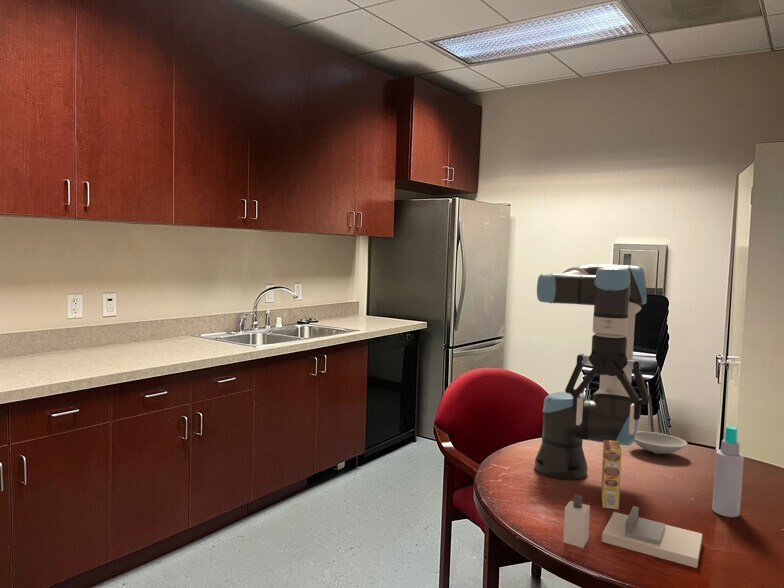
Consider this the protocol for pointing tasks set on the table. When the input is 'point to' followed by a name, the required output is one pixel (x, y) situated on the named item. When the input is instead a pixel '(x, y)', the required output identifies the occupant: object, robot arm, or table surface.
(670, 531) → the socket plate
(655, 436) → the dish
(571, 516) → the plug
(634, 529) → the shutter
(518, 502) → the table surface
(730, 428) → the spray bottle
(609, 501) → the candy box
